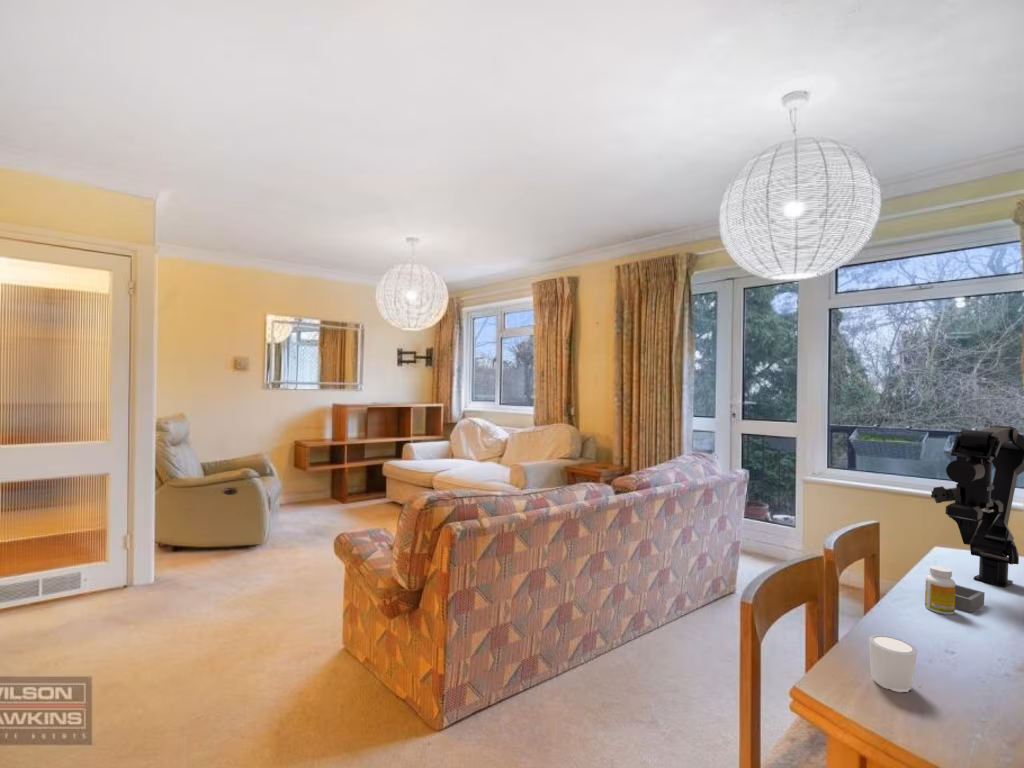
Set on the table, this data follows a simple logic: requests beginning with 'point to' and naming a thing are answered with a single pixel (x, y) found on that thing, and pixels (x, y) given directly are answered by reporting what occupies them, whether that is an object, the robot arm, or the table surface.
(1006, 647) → the table surface
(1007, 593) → the table surface
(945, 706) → the table surface
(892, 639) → the white cylinder
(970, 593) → the frame
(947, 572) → the supplement bottle
